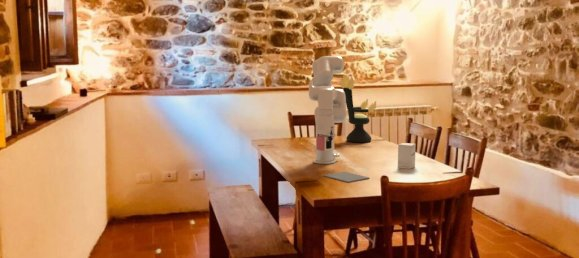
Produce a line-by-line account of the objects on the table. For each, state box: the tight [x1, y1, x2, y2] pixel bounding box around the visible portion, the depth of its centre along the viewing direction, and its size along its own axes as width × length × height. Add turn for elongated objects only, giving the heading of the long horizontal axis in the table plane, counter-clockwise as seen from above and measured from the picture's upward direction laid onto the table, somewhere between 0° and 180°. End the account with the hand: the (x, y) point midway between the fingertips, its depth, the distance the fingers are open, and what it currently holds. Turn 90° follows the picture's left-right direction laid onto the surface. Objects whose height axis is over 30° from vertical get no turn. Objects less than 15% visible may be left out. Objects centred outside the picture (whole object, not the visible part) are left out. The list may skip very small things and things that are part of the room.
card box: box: [315, 135, 335, 151], centre depth 315 cm, size 8×4×7 cm, turn 127°
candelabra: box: [340, 74, 377, 144], centre depth 410 cm, size 19×22×45 cm
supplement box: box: [397, 142, 417, 170], centre depth 327 cm, size 7×7×13 cm
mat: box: [323, 171, 370, 184], centre depth 303 cm, size 14×18×1 cm
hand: (325, 147), depth 315 cm, fingers closed on card box, 4 cm apart
